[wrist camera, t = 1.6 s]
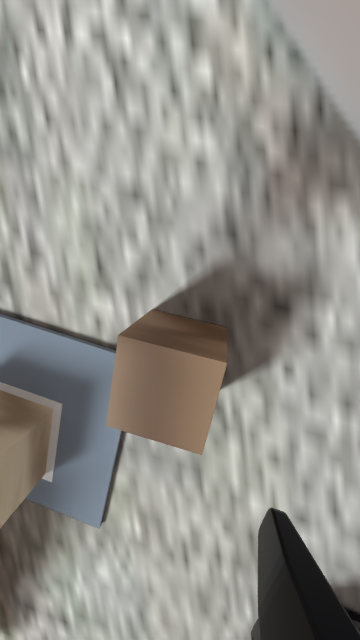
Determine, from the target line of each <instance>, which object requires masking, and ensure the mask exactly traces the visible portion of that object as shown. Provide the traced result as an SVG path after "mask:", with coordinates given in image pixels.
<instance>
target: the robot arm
mask: <svg viewBox="0 0 360 640" xmlns="http://www.w3.org/2000/svg"><path fill="white" fill-rule="evenodd" d="M258 617H259V618H258V620H257V622H256V623H255V625H254V627H253V629H252V631H251V639H252V640H360V616H359V615H357V614H354V613H351V612H349V611H346V610H345V609H344V607H343V606H342V604H341V602H340V601H339V599H338V597H337V596H336V594H335V593H334V591H333V589H332V588H331V586H330V584H329V583H328V581H327V579H326V578H325V576H324V575H323V573H322V571H321V570H320V568H319V566H318V565H317V563H316V562H315V560H314V558H313V557H312V555H311V553H310V552H309V550H308V548H307V547H306V545H305V544H304V542H303V540H302V539H301V537H300V535H299V534H298V532H297V530H296V529H295V527H294V526H293V524H292V522H291V521H290V519H289V517H288V516H287V515H286V513H284V512H283V511H280V510H277V509H275V508H270V509H269V510H268V511H267V513H266V515H265V517H264V519H263V521H262V523H261V526H260V528H259V533H258Z"/></svg>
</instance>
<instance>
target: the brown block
mask: <svg viewBox="0 0 360 640" xmlns="http://www.w3.org/2000/svg"><path fill="white" fill-rule="evenodd" d="M226 366H227V327H223V326H219V325H215V324H211V323H207V322H202V321H198V320H194V319H190V318H186V317H182V316H177V315H173V314H169V313H165V312H161V311H157V310H151V311H150V312H148V313H147V314H146V315H144V316H143V317H142V318H140V319H139V320H138V321H136V322H135V323H134V324H132V325H131V326H130V327H128V328H127V329H126V330H124V331H123V332H122V333H120V334H119V335H118V341H117V348H116V356H115V363H114V371H113V378H112V386H111V393H110V400H109V408H108V415H107V423H106V426H108V427H111V428H115V429H118V430H121V431H125V432H128V433H131V434H134V435H138V436H141V437H144V438H148V439H151V440H154V441H158V442H161V443H164V444H167V445H171V446H174V447H177V448H181V449H184V450H187V451H190V452H194V453H197V454H200V455H202V453H203V450H204V446H205V442H206V439H207V435H208V431H209V428H210V424H211V421H212V417H213V413H214V410H215V406H216V402H217V399H218V395H219V391H220V388H221V384H222V381H223V377H224V373H225V370H226Z"/></svg>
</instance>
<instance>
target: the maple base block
mask: <svg viewBox="0 0 360 640" xmlns="http://www.w3.org/2000/svg"><path fill="white" fill-rule="evenodd" d="M52 415H53V409H52V408H49V407H47V406H44V405H41V404H38V403H35V402H32V401H30V400H27V399H24V398H21V397H18V396H16V395H13V394H10V393H7V392H4V391H1V390H0V528H1V527H2V526H3V525H4V523H5V522H6V521H7V520H8V519H9V517H10V516H11V515H12V514H13V512H14V511H15V510H16V509H17V508H18V506H19V505H20V504H21V503H22V502H23V500H24V499H25V498H26V497H27V495H28V494H29V493H30V492H31V491H32V489H33V488H34V487H35V486H36V484H37V483H38V482H39V481H40V480H41V478H42V477H43V476H44V475H45V472H46V464H47V456H48V448H49V439H50V431H51V423H52Z"/></svg>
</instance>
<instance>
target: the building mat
mask: <svg viewBox="0 0 360 640" xmlns="http://www.w3.org/2000/svg"><path fill="white" fill-rule="evenodd" d="M115 356H116V350H113V349H110V348H107V347H103V346H100V345H97V344H94V343H91V342H88V341H85V340H82V339H78V338H75V337H72V336H69V335H66V334H63V333H60V332H57V331H53V330H50V329H47V328H44V327H41V326H38V325H35V324H32V323H28V322H25V321H22V320H19V319H16V318H13V317H10V316H7V315H3V314H0V390H1V391H4V392H7V393H10V394H13V395H16V396H18V397H21V398H24V399H27V400H30V401H32V402H35V403H38V404H41V405H44V406H47V407H49V408H52V409H53V415H52V423H51V431H50V439H49V448H48V456H47V464H46V472H45V475H44V476H43V477H42V478H41V480H40V481H39V482H38V483H37V484H36V486H35V487H34V488H33V489H32V491H31V492H30V493H29V494H28V495H27V497H26V498H25V499H26V500H29V501H31V502H34V503H36V504H39V505H41V506H44V507H46V508H49V509H51V510H54V511H56V512H59V513H61V514H64V515H66V516H69V517H71V518H74V519H76V520H79V521H81V522H84V523H86V524H89V525H91V526H94V527H96V528H100V526H101V524H102V519H103V515H104V511H105V506H106V502H107V497H108V493H109V488H110V484H111V479H112V475H113V471H114V466H115V462H116V457H117V453H118V448H119V444H120V439H121V435H122V431H121V430H118V429H115V428H111V427H108V426H106V423H107V415H108V408H109V400H110V393H111V386H112V378H113V371H114V363H115Z"/></svg>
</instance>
